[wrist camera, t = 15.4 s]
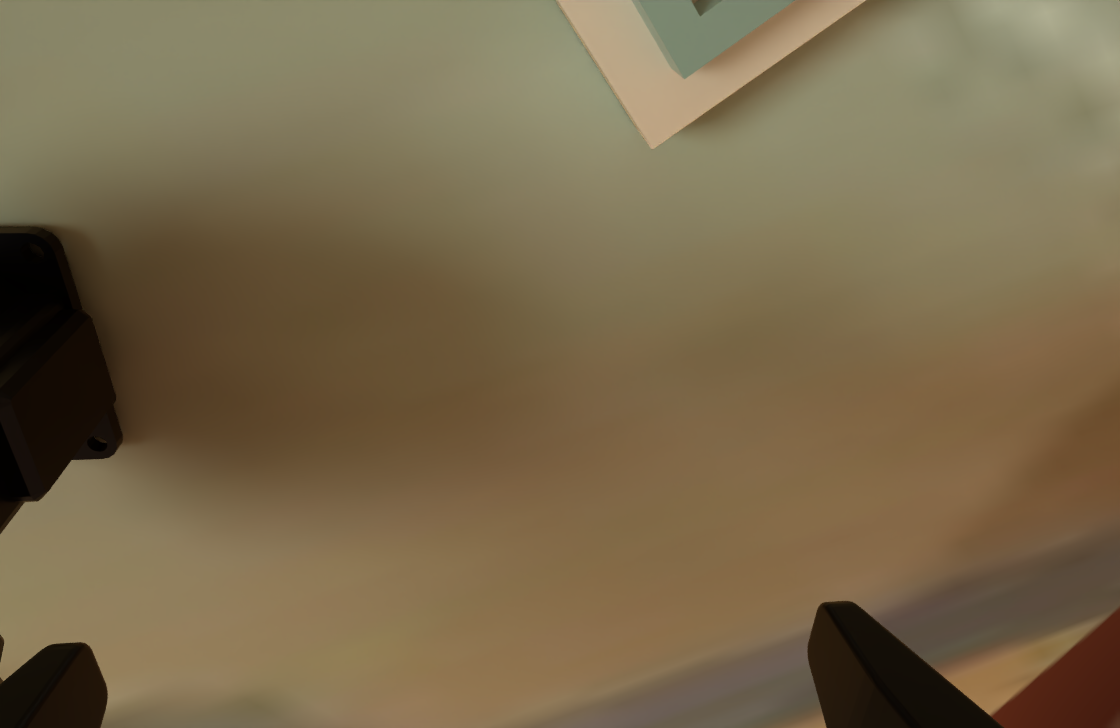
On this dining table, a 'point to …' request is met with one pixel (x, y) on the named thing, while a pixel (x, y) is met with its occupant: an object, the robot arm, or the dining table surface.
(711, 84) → the base plate
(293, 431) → the dining table surface
